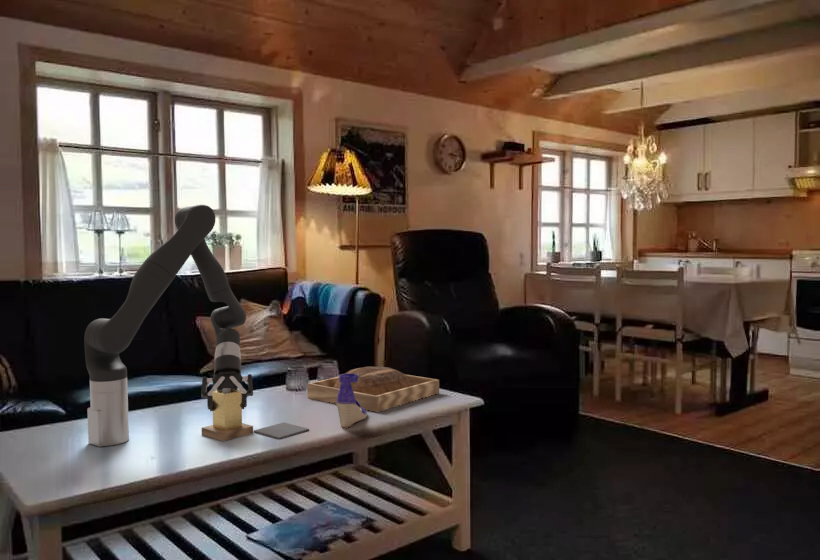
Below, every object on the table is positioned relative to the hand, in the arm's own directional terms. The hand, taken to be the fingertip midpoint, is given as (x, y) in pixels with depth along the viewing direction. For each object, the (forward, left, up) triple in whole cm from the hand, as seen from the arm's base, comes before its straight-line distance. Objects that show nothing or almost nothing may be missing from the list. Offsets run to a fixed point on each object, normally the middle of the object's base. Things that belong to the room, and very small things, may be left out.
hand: (227, 408), depth 187 cm
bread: (+62, +1, -8) cm, 62 cm away
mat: (+11, -10, -7) cm, 16 cm away
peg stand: (0, 0, -7) cm, 7 cm away
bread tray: (+60, -1, -7) cm, 61 cm away
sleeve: (0, 0, -5) cm, 5 cm away
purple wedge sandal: (+32, -17, -8) cm, 37 cm away
